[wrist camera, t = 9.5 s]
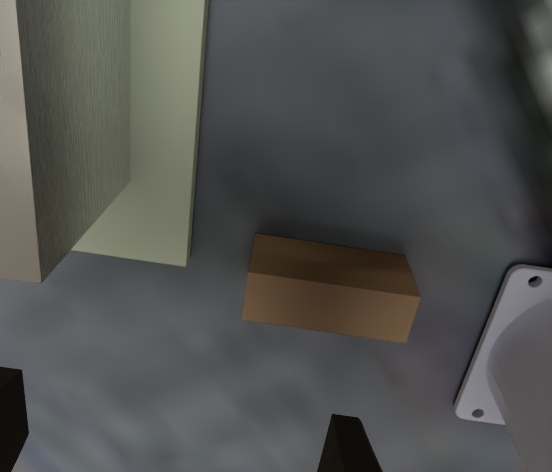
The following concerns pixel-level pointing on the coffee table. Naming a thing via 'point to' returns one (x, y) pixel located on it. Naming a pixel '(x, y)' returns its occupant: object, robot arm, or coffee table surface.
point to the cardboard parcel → (330, 289)
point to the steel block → (60, 126)
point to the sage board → (158, 136)
